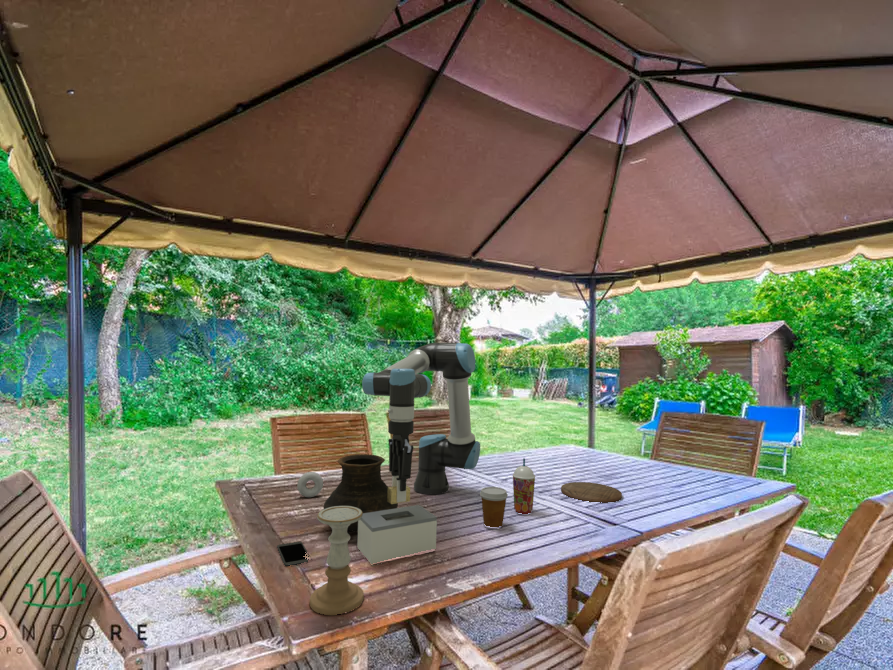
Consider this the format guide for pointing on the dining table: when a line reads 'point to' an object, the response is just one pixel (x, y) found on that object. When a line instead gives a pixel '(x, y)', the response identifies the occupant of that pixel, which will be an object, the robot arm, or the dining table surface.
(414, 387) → the robot arm
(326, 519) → the candle holder
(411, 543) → the box
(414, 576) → the dining table surface
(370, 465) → the ceramic pot
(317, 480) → the donut
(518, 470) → the smoothie
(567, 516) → the dining table surface
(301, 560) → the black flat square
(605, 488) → the trivet
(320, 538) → the dining table surface
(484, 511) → the disposable coffee cup
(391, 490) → the yellow rectangular block
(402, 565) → the dining table surface
